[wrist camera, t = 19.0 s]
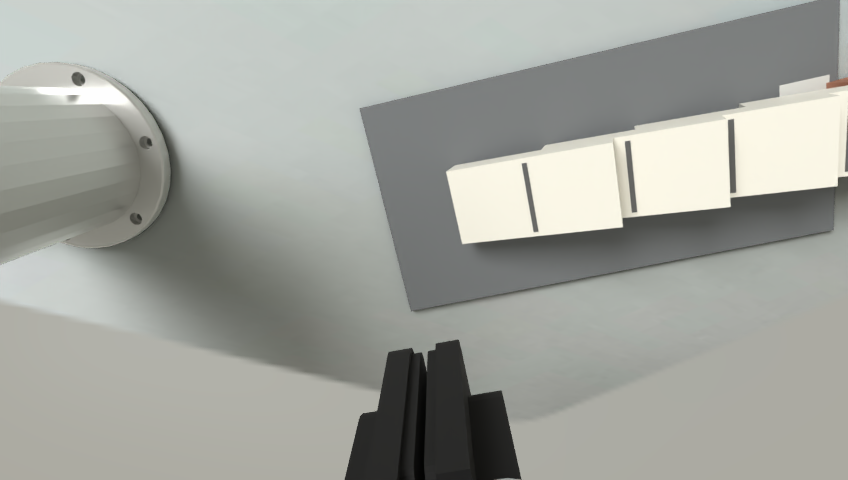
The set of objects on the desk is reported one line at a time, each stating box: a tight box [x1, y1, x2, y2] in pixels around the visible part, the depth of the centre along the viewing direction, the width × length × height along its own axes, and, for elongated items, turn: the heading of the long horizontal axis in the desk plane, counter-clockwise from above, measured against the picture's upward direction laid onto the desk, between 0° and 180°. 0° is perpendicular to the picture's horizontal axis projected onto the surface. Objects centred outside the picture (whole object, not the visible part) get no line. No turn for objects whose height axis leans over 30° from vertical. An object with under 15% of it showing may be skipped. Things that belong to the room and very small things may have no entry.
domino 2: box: [542, 115, 731, 218], centre depth 29 cm, size 2×5×10 cm
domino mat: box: [360, 0, 840, 311], centre depth 32 cm, size 30×15×1 cm, turn 103°
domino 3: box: [634, 93, 841, 198], centre depth 28 cm, size 2×5×10 cm
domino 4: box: [739, 85, 848, 177], centre depth 28 cm, size 2×5×10 cm
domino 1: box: [446, 137, 623, 244], centre depth 30 cm, size 2×5×10 cm
